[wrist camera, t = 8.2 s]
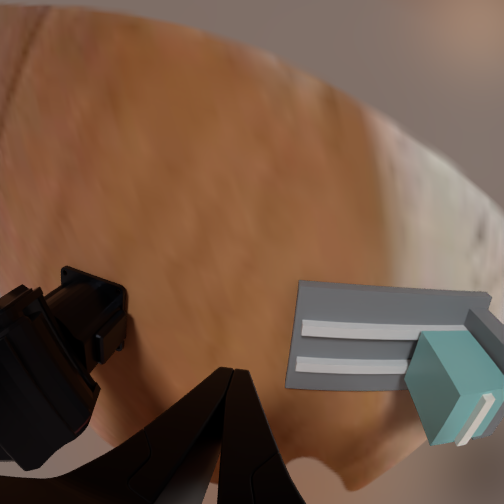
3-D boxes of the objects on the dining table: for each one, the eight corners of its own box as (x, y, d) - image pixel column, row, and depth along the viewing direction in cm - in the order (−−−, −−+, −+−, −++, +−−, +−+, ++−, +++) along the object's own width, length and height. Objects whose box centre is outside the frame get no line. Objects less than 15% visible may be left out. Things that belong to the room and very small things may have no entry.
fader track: (285, 380, 24) (280, 462, 16) (299, 280, 21) (303, 353, 13) (452, 379, 22) (486, 443, 14) (486, 292, 20) (544, 345, 12)
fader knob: (401, 371, 21) (432, 452, 13) (417, 324, 20) (464, 402, 12) (445, 369, 21) (484, 441, 13) (463, 324, 19) (516, 392, 11)
